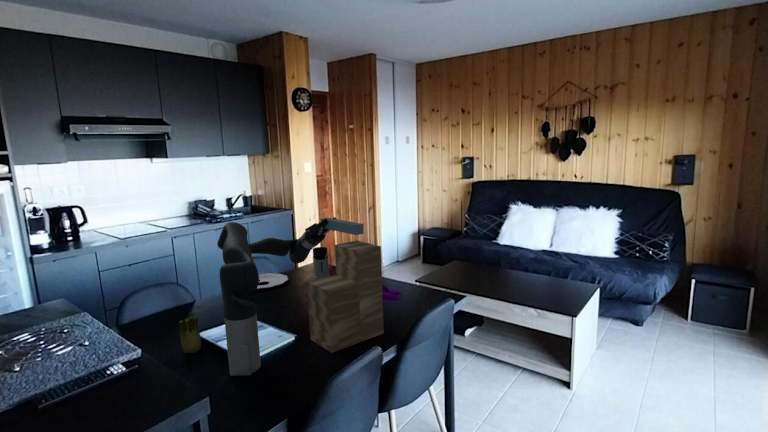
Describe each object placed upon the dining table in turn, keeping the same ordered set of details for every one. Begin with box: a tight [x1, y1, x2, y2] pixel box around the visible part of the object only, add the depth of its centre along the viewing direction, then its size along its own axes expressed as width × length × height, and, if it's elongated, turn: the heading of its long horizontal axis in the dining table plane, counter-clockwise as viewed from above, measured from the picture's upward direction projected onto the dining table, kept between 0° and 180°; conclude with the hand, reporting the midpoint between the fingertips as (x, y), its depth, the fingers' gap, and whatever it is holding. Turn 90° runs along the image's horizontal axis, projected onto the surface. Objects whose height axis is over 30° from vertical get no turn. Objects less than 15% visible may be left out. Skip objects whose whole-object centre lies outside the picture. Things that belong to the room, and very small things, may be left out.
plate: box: [255, 273, 289, 291], centre depth 216 cm, size 25×25×2 cm
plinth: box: [306, 240, 385, 354], centre depth 149 cm, size 14×22×32 cm, turn 129°
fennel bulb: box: [178, 316, 202, 354], centre depth 142 cm, size 6×5×12 cm
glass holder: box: [312, 246, 332, 279], centre depth 222 cm, size 9×14×15 cm, turn 40°
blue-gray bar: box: [320, 217, 365, 236], centre depth 158 cm, size 23×4×4 cm, turn 40°
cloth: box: [382, 283, 403, 303], centre depth 191 cm, size 22×19×6 cm
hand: (331, 220), depth 163 cm, fingers closed on blue-gray bar, 3 cm apart
